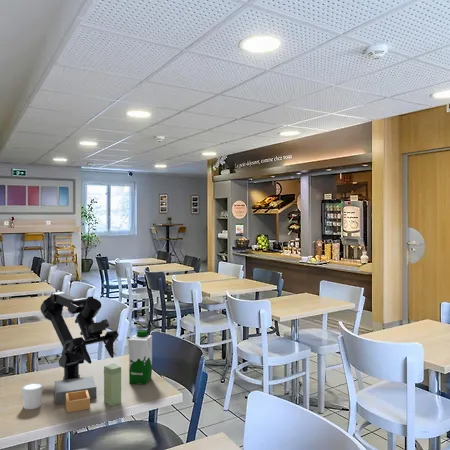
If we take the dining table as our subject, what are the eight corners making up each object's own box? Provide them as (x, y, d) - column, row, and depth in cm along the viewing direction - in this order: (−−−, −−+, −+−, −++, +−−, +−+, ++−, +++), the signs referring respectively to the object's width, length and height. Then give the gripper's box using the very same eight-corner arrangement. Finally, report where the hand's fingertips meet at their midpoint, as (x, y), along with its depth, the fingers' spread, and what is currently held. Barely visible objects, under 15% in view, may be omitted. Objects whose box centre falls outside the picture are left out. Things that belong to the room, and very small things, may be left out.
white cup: (46, 401, 155) (46, 382, 155) (38, 410, 148) (38, 389, 148) (26, 401, 154) (26, 382, 154) (18, 410, 147) (18, 390, 147)
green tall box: (104, 402, 154) (104, 366, 154) (113, 398, 157) (113, 363, 157) (111, 406, 151) (111, 369, 151) (121, 402, 154) (121, 366, 154)
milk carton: (154, 377, 179) (154, 329, 179) (147, 385, 170) (147, 335, 170) (133, 376, 180) (134, 329, 180) (126, 384, 171) (126, 334, 171)
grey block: (54, 391, 163) (54, 381, 163) (92, 386, 169) (92, 376, 169) (56, 414, 145) (56, 402, 145) (99, 406, 150) (99, 395, 150)
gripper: (71, 317, 156) (86, 353, 148) (116, 309, 169) (131, 343, 162) (61, 334, 162) (75, 370, 154) (105, 326, 175) (120, 358, 167)
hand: (101, 360), depth 159 cm, fingers open, 9 cm apart
